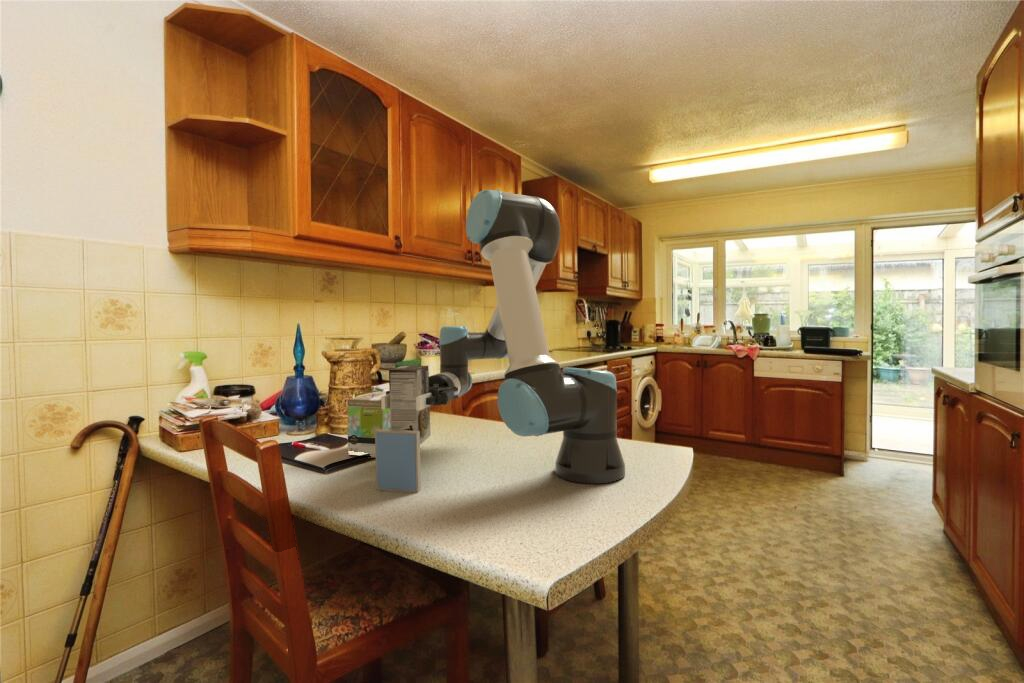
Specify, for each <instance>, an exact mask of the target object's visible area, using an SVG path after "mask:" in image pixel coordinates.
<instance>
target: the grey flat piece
mask: <svg viewBox="0 0 1024 683" xmlns="http://www.w3.org/2000/svg"><path fill="white" fill-rule="evenodd" d="M375 452H376V457H375V488H376V491H387V492H388V491H389V492H403V493H416V494H417V493H418V494H419V492H421V490H422V486H421V484H422V482H421V480H422V478H421V475H422V474H421V445H420V431H409V430H384V429H378V430H376V431H375Z"/></svg>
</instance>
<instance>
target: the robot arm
mask: <svg viewBox="0 0 1024 683" xmlns="http://www.w3.org/2000/svg"><path fill="white" fill-rule="evenodd" d="M561 231H562V230H561V222H560V218H559V216H558V213H557V211H556V209H555V208H554V206H552V204H551V203H550V202H548V201H547V200H546V199H544V198H542V197H538V196H533V195H525V194H518V193H512V192H504V191H501V190H500V189H496V190H494V189H482V190H481V191H479V192H478V193H476V195H475V196H474V197H473V199H472V200H471V202H470V204H469V207H468V210H467V214H466V219H465V232H466V238H468V240H469V241H470V242H471V243H473V244H477V245H478V244H479V248H480V254H481V256H482V258H483V259H485V260H486V261H488V262H489V264H490V269H491V276H492V280H493V285H494V291H495V296H496V300H497V303H496V304H495V308H494V310H493V313H492V315H491V317H490V320H489V322H488V324H487V327H486V329H485V331H483V332H472V331H471V332H470V331H468V327H467V326H465V325H459V326H458V325H453V326H452V325H450V326H442V327H441V328H440V330H439V340H438V342H439V343H438V344H439V363H440V364H439V366H440V367H439V371H440V372H439V373H437V374H433V375H430V376H429V393H426V394H424V395H421V396H418V397H416V410H418V411H420V410H422V409H424V408H427V407H429V406H430V407H431V406H442V405H443V406H446V405H447V404H449V403H451V402H452V401H453V400H455V399H459V398H460V397H463V396H464V395H465V394H467V392H469V391H470V390H471V388H472V386H473V377H472V375H471V373H470V372H469V361H472V360H494V359H496V360H498V359H499V360H500V359H504V358H505V359H506V358H508V362H509V366H508V368H506V371H505V372H504V374H503V376H504V381H503V382H501V384H500V386H499V388H498V391H497V394H498V395H497V398H496V399H497V407H498V411H499V414H500V417H501V419H502V421H503V423H504V424H505V426H506V427H507V428H508V429H509V430H510V431H511V432H512V433H513V434H514V435H516V436H520V437H522V438H523V437H526V438H527V437H541V436H543V435H547V434H554V433H560V432H562V436H563V437H562V439H561V443H560V447H559V451H558V452H557V453H558V454H557V456H556V459H555V474H556V475H557V477H559V478H561V479H562V480H563V479H564V480H566V481H570V482H574V483H580V484H595V485H596V484H598V485H599V484H608V482H609V483H614V482H617V481H616V480H618V481H620V480H621V478H622V479H623V478H624V477H625V475H626V464H625V461H624V458H623V455H622V451H621V448H620V446H619V442H618V436H617V435H618V434H617V433H618V432H617V431H618V427H617V424H618V422H617V421H618V389H617V378H616V375H615V374H614V373H613V372H612V371H607V370H598V369H587V368H579V367H578V368H577V367H570V366H569V367H568V366H567V367H564V368H562V370H561V367H560V363H559V362H558V361H556V360H555V359H553V358H552V357H551V354H550V350H549V346H548V341H547V336H546V331H545V327H544V321H543V316H542V313H541V309H540V302H539V299H538V295H537V294H538V293H537V289H536V287H537V285H538V283H539V280H540V279H541V277H542V275H543V272H544V270H545V268H546V265H548V264H551V263H552V262H553V261H554V259H555V256H556V254H557V252H558V249H559V246H560V242H561V233H562V232H561ZM385 392H386V395H384V396H381V408H382V409H387V408H390V392H389V390H386V391H385ZM619 479H620V480H619ZM613 481H614V482H613Z"/></svg>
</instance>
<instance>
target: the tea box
mask: <svg viewBox="0 0 1024 683" xmlns="http://www.w3.org/2000/svg"><path fill="white" fill-rule="evenodd" d="M384 395H386V391H374V392H369V393H366V394H362V395H359V396H354V397H350V398H348V399H347V452H348V451H354V452H364V453H368V454H370V456H371V457H370V458H376V452H375V431H376V430H378V429H384V430H391V429H390V408H387V409H382V408H381V396H384Z"/></svg>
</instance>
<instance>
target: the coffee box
mask: <svg viewBox="0 0 1024 683" xmlns="http://www.w3.org/2000/svg"><path fill="white" fill-rule="evenodd" d="M429 375H430V373H429V365H419V364H417V365H416V364H408V365H407V364H405V365H404V364H403V365H400V366H396V367H393V368H390V369H388V385H389V388H388V389H389V390H388V391H389V392H390V429H391V430H409V431H420V446H421V445H422V444H423V443H424V442H425V441H426V440H427V439H429V438H430V436H431V433H432V432H431V408H430V407H431V406H429V407H427V408H424V409H422V410H420V411H418V410H416V397H418V396H421V395H424V394H426V393H429V377H430V376H429Z"/></svg>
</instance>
